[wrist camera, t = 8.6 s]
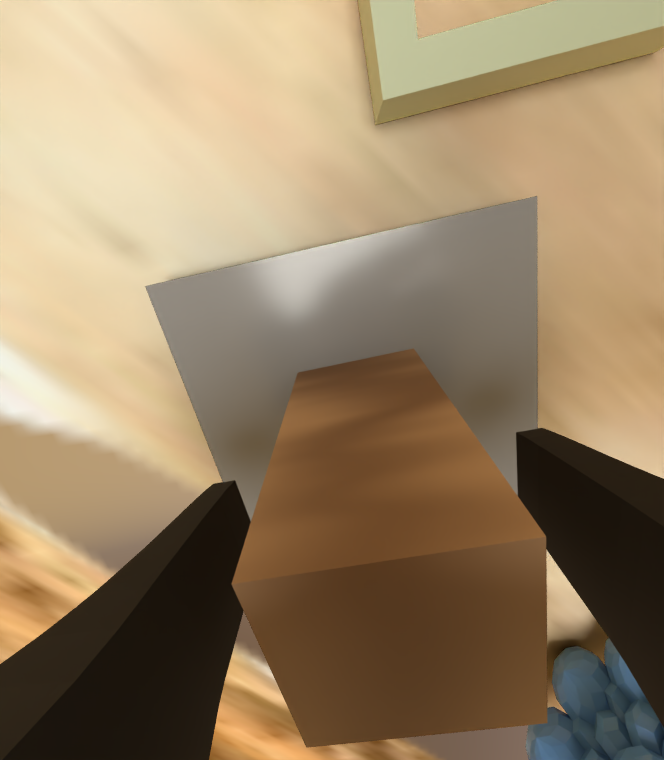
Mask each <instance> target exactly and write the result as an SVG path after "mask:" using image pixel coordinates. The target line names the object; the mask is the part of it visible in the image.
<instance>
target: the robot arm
mask: <svg viewBox="0 0 664 760" xmlns="http://www.w3.org/2000/svg"><path fill="white" fill-rule="evenodd" d="M516 450H517V487H518V497H519V499H520V500H521V502H522V503H523V504H524V506H525V507H526V509H527V510H528V511H529V513H530V514H531V516H532V517H533V519H534V520H535V521H536V523H537V524H538V526H539V527H540V529H541V530H542V531H543V533H544V534H545V536H546V549H547V551H548V552H549V553H550V555H551V556H552V558H553V559H554V561H555V562H556V564H557V565H558V566H559V568H560V569H561V571H562V572H563V574H564V575H565V576H566V578H567V579H568V581H569V582H570V583H571V585H572V586H573V588H574V589H575V591H576V592H577V593H578V595H579V596H580V598H581V599H582V600H583V602H584V603H585V605H586V606H587V607H588V609H589V610H590V612H591V613H592V615H593V616H594V617H595V619H596V620H597V622H598V623H599V624H600V626H601V627H602V629H603V630H604V632H605V633H606V634H607V636H608V637H609V639H610V640H611V642H612V643H613V645H614V646H615V648H616V649H617V651H618V652H619V654H620V656H621V657H622V659H623V660H624V662H625V663H626V665H627V667H628V668H629V670H630V672H631V673H632V675H633V677H634V678H635V680H636V682H637V683H638V685H639V687H640V688H641V690H642V692H643V693H644V695H645V697H646V699H647V700H648V702H649V704H650V705H651V707H652V709H653V710H654V712H655V714H656V715H657V717H658V719H659V720H660V722H661V724H662V725H663V727H664V479H663V478H660V477H658V476H655V475H653V474H650V473H648V472H645V471H643V470H641V469H638V468H636V467H633V466H631V465H629V464H626V463H624V462H622V461H619V460H617V459H615V458H612V457H610V456H608V455H605V454H603V453H601V452H598V451H596V450H594V449H592V448H589V447H587V446H585V445H582V444H580V443H578V442H576V441H573V440H571V439H569V438H566V437H564V436H562V435H559V434H557V433H554V432H552V431H549V430H546V429H544V428H539V429H533V430H527V431H521V432H516ZM250 523H251V521H250V518H249V515H248V513H247V510H246V507H245V505H244V502H243V500H242V497H241V494H240V492H239V489H238V486H237V484H236V481H235V480H233V481H228V482H222V483H216V484H213V485H211V486H210V487H209V488H208V489H207V490H205V491H204V492H203V493H202V494H201V495H200V496H199V497H198V498H197V499H196V500H194V502H193V503H192V504H190V505H189V506H188V507H187V508H186V509H185V510H184V511H183V512H182V513H181V514H180V515H179V516H178V517H177V518H176V519H175V520H174V521H172V522H171V523H170V524H169V525H168V526H167V527H166V528H165V529H164V530H163V531H162V532H161V533H160V534H159V535H158V536H157V537H156V538H155V539H154V540H152V542H150V543H149V544H148V545H147V546H146V547H145V548H144V549H143V550H142V551H141V552H139V553H138V554H137V555H136V556H135V557H134V558H133V559H132V560H130V561H129V562H128V563H127V564H126V565H125V566H124V567H123V568H122V569H120V570H119V571H118V572H117V573H116V574H115V575H114V576H113V577H111V578H110V579H109V580H108V581H107V582H106V583H105V584H104V585H102V586H101V587H100V588H99V589H98V590H96V591H95V592H94V593H93V594H92V595H90V596H89V597H88V598H87V599H86V600H84V601H83V602H82V603H81V604H80V605H78V606H77V607H76V608H75V609H73V610H72V611H71V612H69V613H68V614H67V615H66V616H64V617H63V618H62V619H61V620H59V621H58V622H57V623H56V624H54V625H53V626H52V627H50V628H49V629H48V630H47V631H45V632H44V633H43V634H41V635H40V636H39V637H37V638H36V639H35V640H33V641H32V642H30V643H29V644H28V645H26V646H25V647H24V648H22V649H21V650H19V651H18V652H17V653H15V654H14V655H12V656H11V657H10V658H8V659H7V660H5V661H4V662H3V663H1V664H0V760H209V756H210V750H211V745H212V740H213V734H214V729H215V723H216V718H217V712H218V707H219V703H220V698H221V694H222V690H223V686H224V681H225V677H226V674H227V670H228V666H229V663H230V659H231V655H232V652H233V648H234V644H235V640H236V637H237V633H238V629H239V625H240V622H241V618H242V615H243V611H244V610H243V608H242V606H241V604H240V602H239V600H238V597H237V595H236V593H235V591H234V589H233V586H232V581H233V578H234V574H235V571H236V568H237V565H238V562H239V558H240V555H241V552H242V549H243V546H244V542H245V539H246V536H247V533H248V530H249V526H250Z"/></svg>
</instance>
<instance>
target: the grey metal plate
mask: <svg viewBox="0 0 664 760" xmlns="http://www.w3.org/2000/svg"><path fill="white" fill-rule="evenodd" d="M145 287H146V290H147V292H148V295H149V297H150V300H151V302H152V305H153V307H154V310H155V312H156V315H157V317H158V320H159V322H160V325H161V327H162V330H163V332H164V335H165V338H166V340H167V343H168V345H169V348H170V350H171V353H172V355H173V358H174V360H175V363H176V365H177V368H178V370H179V373H180V375H181V378H182V380H183V383H184V385H185V388H186V390H187V393H188V395H189V398H190V401H191V403H192V406H193V408H194V411H195V413H196V416H197V418H198V421H199V423H200V426H201V428H202V431H203V433H204V436H205V438H206V441H207V443H208V446H209V448H210V451H211V453H212V456H213V458H214V461H215V463H216V466H217V469H218V471H219V474H220V476H221V479H222V481H223V482H228V481H233V480H235V481H236V484H237V486H238V489H239V492H240V494H241V497H242V500H243V502H244V505H245V507H246V510H247V513H248V515H249V518H250V521H251V520H252V517H253V514H254V510H255V507H256V504H257V501H258V498H259V494H260V491H261V488H262V485H263V482H264V479H265V475H266V472H267V469H268V466H269V463H270V459H271V456H272V453H273V450H274V447H275V443H276V440H277V437H278V434H279V431H280V427H281V424H282V421H283V418H284V415H285V411H286V408H287V405H288V402H289V399H290V395H291V392H292V389H293V386H294V383H295V380H296V376H297V373H298V372H303V371H308V370H313V369H318V368H322V367H327V366H332V365H337V364H342V363H346V362H351V361H356V360H361V359H365V358H370V357H375V356H380V355H385V354H389V353H394V352H399V351H404V350H409V349H413V348H414V350H415V351H416V352H417V354H418V355H419V357H420V358H421V359H422V361H423V362H424V364H425V365H426V367H427V368H428V369H429V371H430V372H431V374H432V375H433V377H434V378H435V379H436V381H437V382H438V384H439V385H440V386H441V388H442V389H443V391H444V392H445V394H446V395H447V396H448V398H449V399H450V401H451V402H452V404H453V405H454V406H455V408H456V409H457V411H458V412H459V413H460V415H461V416H462V418H463V419H464V421H465V422H466V423H467V425H468V426H469V428H470V429H471V431H472V432H473V433H474V435H475V436H476V438H477V439H478V440H479V442H480V443H481V445H482V446H483V448H484V449H485V450H486V452H487V453H488V455H489V456H490V457H491V459H492V460H493V462H494V463H495V465H496V466H497V467H498V469H499V470H500V472H501V473H502V475H503V476H504V477H505V479H506V480H507V482H508V483H509V484H510V486H511V487H512V489H513V490H514V492H515V493H516V494H517V496H518V487H517V450H516V432H521V431H527V430H533V429H538V383H537V196H535V197H531V198H526V199H522V200H518V201H513V202H509V203H505V204H500V205H496V206H492V207H487V208H483V209H479V210H474V211H470V212H466V213H461V214H457V215H453V216H448V217H444V218H440V219H435V220H431V221H427V222H422V223H418V224H414V225H409V226H405V227H401V228H396V229H392V230H388V231H383V232H379V233H374V234H370V235H366V236H361V237H357V238H353V239H348V240H344V241H340V242H335V243H331V244H327V245H322V246H318V247H314V248H309V249H305V250H301V251H296V252H292V253H288V254H283V255H279V256H275V257H270V258H266V259H262V260H257V261H253V262H249V263H244V264H240V265H236V266H231V267H227V268H223V269H218V270H214V271H209V272H205V273H201V274H196V275H192V276H188V277H183V278H179V279H175V280H170V281H166V282H162V283H157V284H153V285H149V286H145Z"/></svg>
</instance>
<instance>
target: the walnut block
mask: <svg viewBox="0 0 664 760" xmlns="http://www.w3.org/2000/svg"><path fill="white" fill-rule="evenodd" d="M232 586H233V589H234V591H235V593H236V595H237V597H238V600H239V602H240V604H241V606H242V608H243V610H244V612H245V615H246V617H247V619H248V621H249V623H250V626H251V628H252V630H253V632H254V634H255V636H256V639H257V641H258V643H259V645H260V647H261V649H262V652H263V654H264V656H265V658H266V660H267V663H268V665H269V667H270V669H271V671H272V673H273V676H274V678H275V680H276V682H277V684H278V686H279V689H280V691H281V693H282V695H283V697H284V699H285V702H286V704H287V706H288V708H289V710H290V712H291V715H292V717H293V719H294V721H295V723H296V726H297V728H298V730H299V732H300V734H301V736H302V739H303V741H304V743H305V745H306V747H317V746H327V745H336V744H346V743H356V742H366V741H376V740H386V739H396V738H406V737H416V736H425V735H435V734H445V733H454V732H465V731H475V730H485V729H495V728H505V727H514V726H524V725H535V724H544V723H547V585H546V536H545V534H544V533H543V531H542V530H541V529H540V527H539V526H538V524H537V523H536V521H535V520H534V519H533V517H532V516H531V514H530V513H529V511H528V510H527V509H526V507H525V506H524V504H523V503H522V502H521V500H520V499H519V497H518V496H517V494H516V493H515V492H514V490H513V489H512V487H511V486H510V484H509V483H508V482H507V480H506V479H505V477H504V476H503V475H502V473H501V472H500V470H499V469H498V467H497V466H496V465H495V463H494V462H493V460H492V459H491V457H490V456H489V455H488V453H487V452H486V450H485V449H484V448H483V446H482V445H481V443H480V442H479V440H478V439H477V438H476V436H475V435H474V433H473V432H472V431H471V429H470V428H469V426H468V425H467V423H466V422H465V421H464V419H463V418H462V416H461V415H460V413H459V412H458V411H457V409H456V408H455V406H454V405H453V404H452V402H451V401H450V399H449V398H448V396H447V395H446V394H445V392H444V391H443V389H442V388H441V386H440V385H439V384H438V382H437V381H436V379H435V378H434V377H433V375H432V374H431V372H430V371H429V369H428V368H427V367H426V365H425V364H424V362H423V361H422V359H421V358H420V357H419V355H418V354H417V352H416V351H415V350H414V348H413V349H409V350H404V351H399V352H394V353H389V354H385V355H380V356H375V357H370V358H365V359H361V360H356V361H351V362H346V363H342V364H337V365H332V366H327V367H322V368H318V369H313V370H308V371H303V372H298V373H297V376H296V380H295V383H294V386H293V389H292V392H291V395H290V399H289V402H288V405H287V408H286V411H285V415H284V418H283V421H282V424H281V427H280V431H279V434H278V437H277V440H276V443H275V447H274V450H273V453H272V456H271V459H270V463H269V466H268V469H267V472H266V475H265V479H264V482H263V485H262V488H261V491H260V494H259V498H258V501H257V504H256V507H255V510H254V514H253V517H252V520H251V523H250V526H249V530H248V533H247V536H246V539H245V542H244V546H243V549H242V552H241V555H240V558H239V562H238V565H237V568H236V571H235V574H234V578H233V581H232Z"/></svg>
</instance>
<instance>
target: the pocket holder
mask: <svg viewBox="0 0 664 760" xmlns="http://www.w3.org/2000/svg"><path fill="white" fill-rule="evenodd" d="M358 7H359V14H360V21H361V28H362V35H363V42H364V49H365V56H366V63H367V70H368V77H369V84H370V91H371V98H372V105H373V112H374V119H375V125H377V124H381V123H385V122H389V121H393V120H396V119H400V118H404V117H408V116H412V115H416V114H420V113H423V112H427V111H431V110H435V109H439V108H443V107H447V106H450V105H454V104H458V103H462V102H466V101H470V100H474V99H477V98H481V97H485V96H489V95H493V94H497V93H501V92H504V91H508V90H512V89H516V88H520V87H524V86H528V85H531V84H535V83H539V82H543V81H547V80H551V79H555V78H558V77H562V76H566V75H570V74H574V73H578V72H581V71H585V70H589V69H593V68H597V67H601V66H605V65H608V64H612V63H616V62H620V61H624V60H628V59H632V58H635V57H639V56H643V55H647V54H651V53H655V52H657V51H658V50H660V49H662V48H663V47H664V0H556V1H553V2H549V3H545V4H542V5H538V6H535V7H531V8H527V9H524V10H520V11H517V12H513V13H510V14H506V15H502V16H499V17H495V18H492V19H488V20H485V21H481V22H477V23H474V24H470V25H467V26H463V27H459V28H456V29H452V30H449V31H445V32H442V33H438V34H434V35H431V36H427V37H424V38H420V39H418V34H417V23H416V13H415V3H414V0H358Z"/></svg>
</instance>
